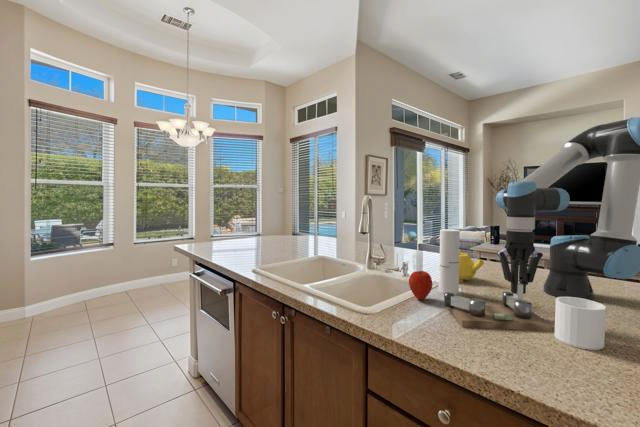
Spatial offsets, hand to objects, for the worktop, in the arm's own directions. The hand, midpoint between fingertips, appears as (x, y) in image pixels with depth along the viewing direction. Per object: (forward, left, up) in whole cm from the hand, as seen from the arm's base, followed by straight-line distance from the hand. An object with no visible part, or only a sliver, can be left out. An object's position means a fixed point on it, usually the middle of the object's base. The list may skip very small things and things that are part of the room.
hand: (517, 303), depth 98 cm
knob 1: (+18, +3, -2) cm, 18 cm away
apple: (+28, -13, -4) cm, 31 cm away
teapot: (+4, -42, -4) cm, 42 cm away
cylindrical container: (+15, -23, -4) cm, 27 cm away
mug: (-7, +16, -4) cm, 18 cm away
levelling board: (+9, +4, -4) cm, 11 cm away
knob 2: (+2, +2, -2) cm, 3 cm away
